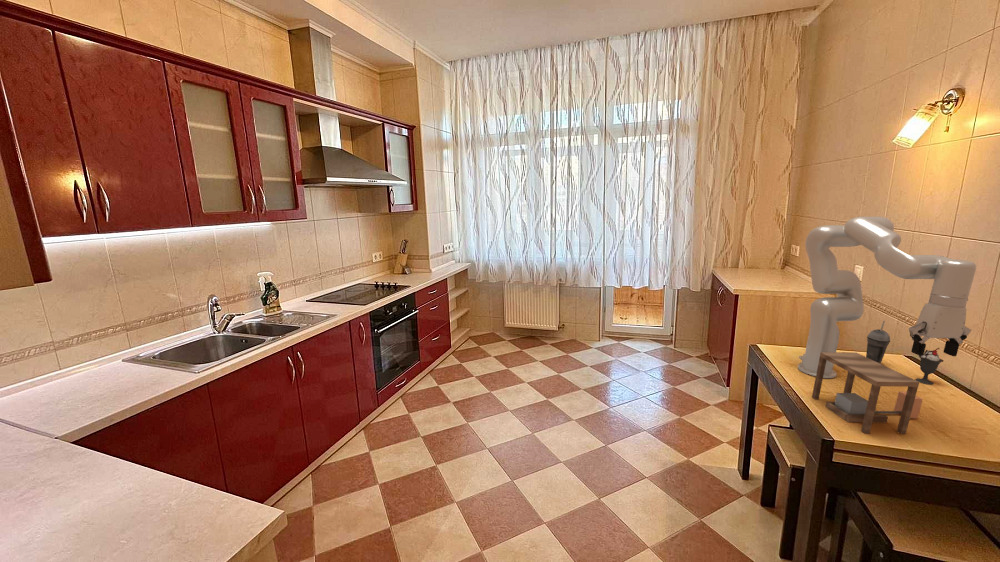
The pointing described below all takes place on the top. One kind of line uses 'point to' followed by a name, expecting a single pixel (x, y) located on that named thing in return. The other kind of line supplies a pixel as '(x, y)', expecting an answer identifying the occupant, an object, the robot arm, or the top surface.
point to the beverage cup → (877, 344)
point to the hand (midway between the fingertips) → (933, 354)
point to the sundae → (929, 365)
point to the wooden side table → (878, 378)
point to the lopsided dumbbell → (858, 405)
